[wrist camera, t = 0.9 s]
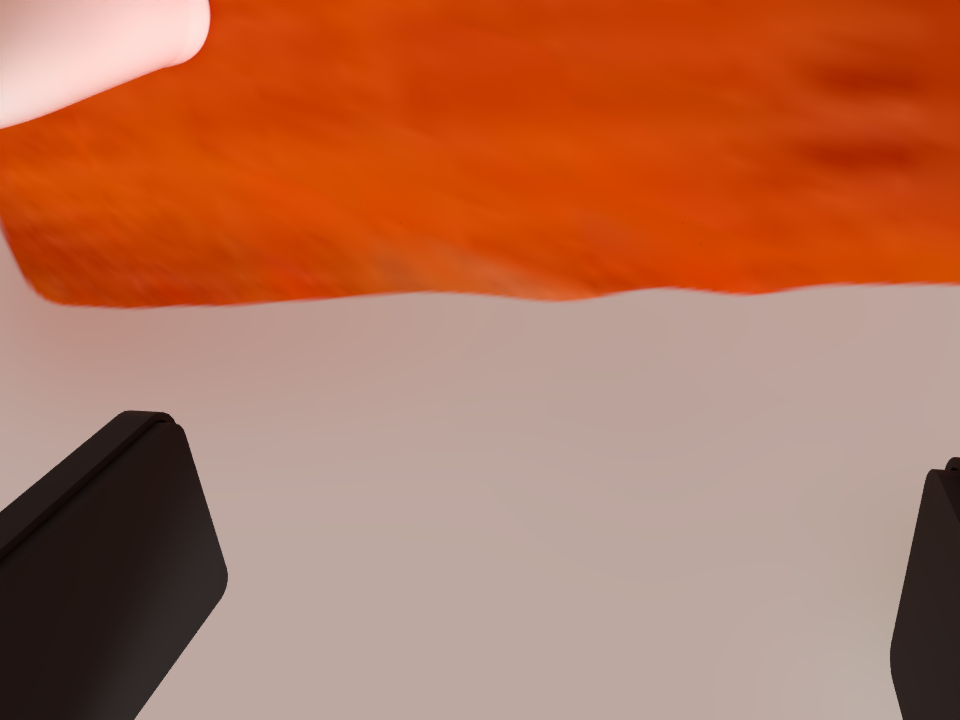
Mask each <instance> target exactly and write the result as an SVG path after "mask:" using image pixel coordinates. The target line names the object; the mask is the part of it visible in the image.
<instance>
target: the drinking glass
mask: <svg viewBox="0 0 960 720" xmlns="http://www.w3.org/2000/svg"><path fill="white" fill-rule="evenodd" d="M209 27H210V6H209V0H0V129H3V128H7V127H10V126H13V125H17V124H20V123H24V122H27V121H30V120H33V119H36V118H39V117H42V116H45V115H47V114H50V113H52V112H55V111H57V110H60V109H62V108H65V107H67V106H70V105H72V104H75V103H77V102H79V101H82V100H84V99H87V98H89V97H92V96H94V95H96V94H99V93H101V92H104V91H106V90H109V89H111V88H114V87H116V86H118V85H121V84H123V83H126V82H128V81H131V80H133V79H136V78H138V77H141V76H144V75H146V74H149V73H151V72H154V71H156V70H159V69H162V68H167V67H171V66H175V65H178V64H181V63H183V62H186V61H187V60H189V59H191V58H192V57H193V56H195V55H196V54H197V52H198V51H199V50H200V49H201V48H202V46H203V44H204V42H205V40H206V38H207V35H208V32H209Z"/></svg>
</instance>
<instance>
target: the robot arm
mask: <svg viewBox="0 0 960 720" xmlns="http://www.w3.org/2000/svg"><path fill="white" fill-rule="evenodd" d="M227 581H228V573H227V568H226V565H225V561H224V558H223V555H222V551H221V548H220V545H219V542H218V538H217V535H216V532H215V529H214V525H213V522H212V519H211V516H210V512H209V509H208V506H207V503H206V500H205V496H204V493H203V490H202V487H201V483H200V480H199V477H198V474H197V470H196V467H195V464H194V461H193V458H192V454H191V451H190V448H189V444H188V441H187V438H186V435H185V432H184V430H183V428H182V427H181V426H180V425H178V424H176V423H175V421H174V419H173V418H172V417H171V416H170V415H169V414H167V413H164V412H149V411H124V412H122V413H120V414H119V415H118V416H116V417H115V418H114V419H112V420H111V421H110V422H109V423H108V424H107V425H105V426H104V427H103V428H102V429H100V430H99V431H98V432H97V433H95V434H94V435H93V436H92V437H91V438H90V439H88V440H87V441H86V442H85V443H83V444H82V445H81V446H80V447H78V448H77V449H76V450H75V451H74V452H72V453H71V454H70V455H69V456H68V457H66V458H65V459H64V460H63V461H62V462H60V463H59V464H58V465H57V466H55V467H54V468H53V469H52V470H51V471H49V472H48V473H47V474H46V475H45V476H43V477H42V478H41V479H40V480H39V481H37V482H36V483H35V484H34V485H33V486H31V487H30V488H29V489H28V490H26V492H24V493H23V494H22V495H20V496H19V497H18V498H17V499H16V500H15V501H13V502H12V503H11V504H10V505H8V506H7V507H6V508H5V509H4V510H2V511H1V512H0V720H134V719H135V718H136V716H137V715H138V713H139V712H140V711H141V709H142V708H143V706H144V705H145V704H146V702H147V701H148V699H149V698H150V697H151V695H152V694H153V692H154V691H155V690H156V688H157V687H158V686H159V684H160V682H161V681H162V680H163V678H164V677H165V676H166V674H167V673H168V671H169V670H170V669H171V667H172V666H173V665H174V663H175V662H176V661H177V659H178V658H179V656H180V655H181V653H182V652H183V651H184V649H185V648H186V647H187V645H188V644H189V642H190V641H191V640H192V638H193V637H194V635H195V634H196V633H197V631H198V630H199V629H200V627H201V626H202V624H203V623H204V622H205V620H206V619H207V617H208V616H209V615H210V613H211V612H212V610H213V609H214V608H215V606H216V605H217V603H218V602H219V601H220V599H221V598H222V596H223V594H224V592H225V589H226V586H227ZM890 666H891V675H892V679H893V684H894V687H895V691H896V695H897V699H898V702H899V706H900V710H901V714H902V717H903V720H960V458H959V457H953V458H951V459H950V460H949V462H948V463H947V465H946V468H945V470H937V469H932V470H930V471H929V473H928V474H927V477H926V480H925V484H924V489H923V494H922V499H921V504H920V508H919V514H918V518H917V523H916V528H915V533H914V537H913V542H912V546H911V552H910V556H909V561H908V566H907V570H906V576H905V580H904V585H903V589H902V594H901V599H900V604H899V609H898V613H897V618H896V623H895V628H894V632H893V638H892V642H891V649H890Z"/></svg>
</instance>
